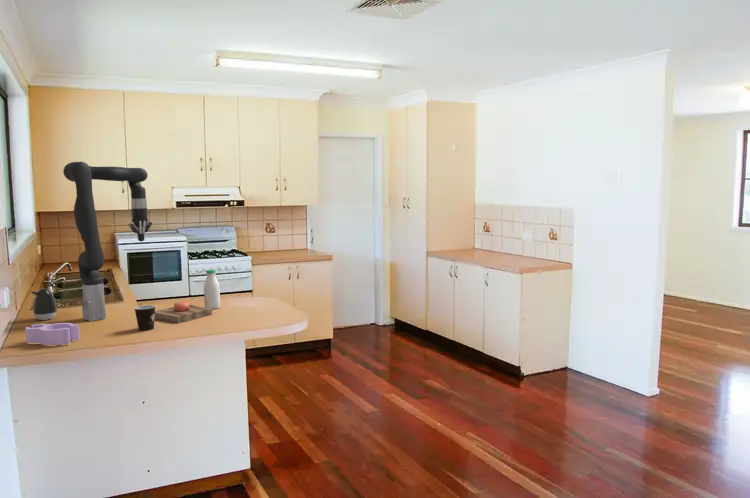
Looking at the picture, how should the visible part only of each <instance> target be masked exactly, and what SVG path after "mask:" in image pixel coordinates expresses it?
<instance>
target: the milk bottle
mask: <svg viewBox="0 0 750 498" xmlns="http://www.w3.org/2000/svg"><path fill="white" fill-rule="evenodd" d="M205 272H206V279H205V282H204V283H203V294H204V296H203V297H204V299H203V300H204V307H205V308H211V309H212V310H218V309H220V308H221V295H220V293H221V291H220V284H219V283H220V282H219V281H218V279H217V277H216V273H217V271H216V269H215V268H214V269H206V271H205Z"/></svg>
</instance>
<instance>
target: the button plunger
mask: <svg viewBox="0 0 750 498" xmlns="http://www.w3.org/2000/svg"><path fill="white" fill-rule="evenodd" d="M189 305H190V303H189V302H188V301H187V302H186V301H181V302H176V303H173V307H174V311H187V310H189Z"/></svg>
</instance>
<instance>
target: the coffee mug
mask: <svg viewBox="0 0 750 498" xmlns="http://www.w3.org/2000/svg"><path fill="white" fill-rule="evenodd" d="M134 311H135V316H136V322H137V323H136V324H137V329H138V331H141V332H147V331H152V330H154V329H155V319H154V318H155V311H156V305H153V304H151V305H150V304H145V305H139V306H135V307H134Z"/></svg>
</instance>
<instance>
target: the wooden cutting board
mask: <svg viewBox="0 0 750 498" xmlns="http://www.w3.org/2000/svg"><path fill="white" fill-rule="evenodd" d="M212 315H213V309H211V308H205V306H199V305H193V304H189V310H187V311H174V306H171V307H167V308H162V309H158V310H155V319H154V320H159V319H160V320H161V321H164V320H165V321H166V322H171V323H176V324H182V323H186V322H189V321H192V320H197V319H201V318H204V317H208V316H212ZM165 321H164V322H165Z"/></svg>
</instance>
